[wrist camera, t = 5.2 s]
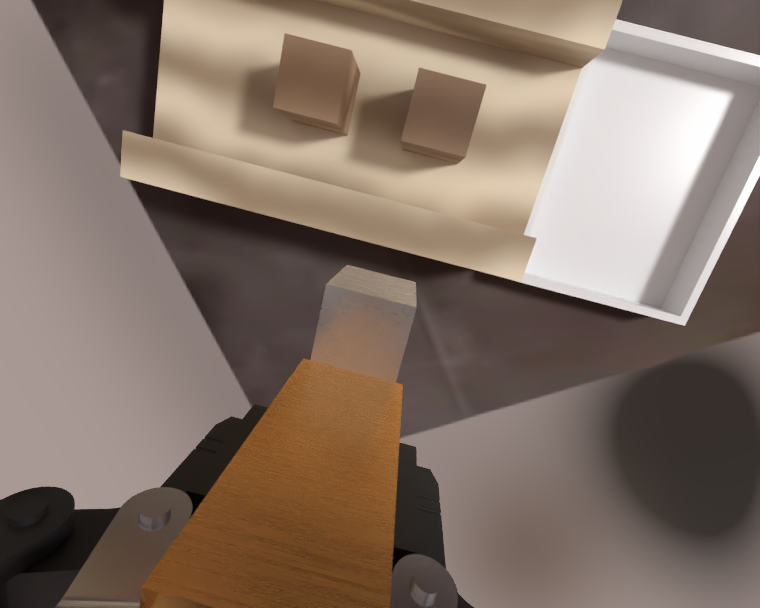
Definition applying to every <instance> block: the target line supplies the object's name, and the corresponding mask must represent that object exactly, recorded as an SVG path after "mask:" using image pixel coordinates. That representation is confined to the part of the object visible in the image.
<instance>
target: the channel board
mask: <svg viewBox="0 0 760 608" xmlns="http://www.w3.org/2000/svg"><path fill="white" fill-rule="evenodd" d="M622 1H623V0H164V8H163V20H162V32H161V45H160V57H159V69H158V82H157V94H156V106H155V119H154V131H153V138H151V137H147V136H143V135H139V134H135V133H132V132H128V131H124V130H123V136H122V152H121V169H120V177H122V178H126V179H130V180H134V181H138V182H141V183H145V184H149V185H153V186H157V187H160V188H164V189H168V190H172V191H176V192H179V193H183V194H187V195H191V196H195V197H198V198H202V199H206V200H210V201H214V202H217V203H221V204H225V205H229V206H233V207H236V208H240V209H244V210H248V211H252V212H256V213H259V214H263V215H267V216H271V217H275V218H278V219H282V220H286V221H290V222H294V223H297V224H301V225H305V226H309V227H313V228H316V229H320V230H324V231H328V232H332V233H335V234H339V235H343V236H347V237H351V238H354V239H358V240H362V241H366V242H370V243H373V244H377V245H381V246H385V247H389V248H392V249H396V250H400V251H404V252H408V253H411V254H415V255H419V256H423V257H427V258H430V259H434V260H438V261H442V262H446V263H449V264H453V265H457V266H461V267H465V268H469V269H472V270H476V271H480V272H484V273H488V274H491V275H495V276H499V277H503V278H507V279H510V280H514V281H518V282H521V281H522V278H523V275H524V272H525V270H526V267H527V264H528V261H529V258H530V256H531V253H532V250H533V247H534V245H535V242H536V239H537V238H534V237H530V236H526V235H524V232H525V229H526V226H527V223H528V221H529V218H530V215H531V212H532V209H533V206H534V203H535V201H536V198H537V195H538V192H539V189H540V186H541V184H542V181H543V178H544V175H545V172H546V169H547V166H548V164H549V161H550V158H551V155H552V152H553V149H554V146H555V144H556V141H557V138H558V135H559V132H560V129H561V126H562V124H563V121H564V118H565V115H566V112H567V109H568V106H569V104H570V101H571V98H572V95H573V92H574V89H575V86H576V84H577V81H578V78H579V75H580V72H581V69H582V68H583V67H584V66H585V65H586V64H588V63H589V62H590V61H591V60H593V59H594V58H595V57H596V56H598V55H599V54H600V53H601V52H603V51H604V50H605V48H606V45H607V42H608V39H609V37H610V34H611V31H612V28H613V26H614V23H615V20H616V17H617V15H618V12H619V9H620V6H621V3H622ZM285 33H286V34H290V35H294V36H298V37H302V38H306V39H310V40H314V41H318V42H321V43H325V44H329V45H333V46H337V47H341V48H345V49H349V50H352V52H353V55H354V58H355V60H356V63H357V65H358V68H359V71H360V73H361V74H360V79H359V84H358V88H357V93H356V98H355V103H354V108H353V112H352V117H351V122H350V127H349V131H348V136H347V135H343V134H339V133H335V132H331V131H328V130H324V129H320V128H316V127H312V126H308V125H304V124H301V123H297V122H293V121H291V120H290V119H289V118H287V117H286V116H284V115H283V114H282V113H280V112H279V111H277V110H276V109H274V108H273V103H274V97H275V91H276V84H277V78H278V72H279V65H280V59H281V53H282V46H283V40H284V34H285ZM419 68H423V69H427V70H431V71H435V72H439V73H443V74H446V75H450V76H454V77H458V78H462V79H466V80H470V81H474V82H478V83H482V84H485V85H486V89H485V92H484V96H483V99H482V102H481V106H480V109H479V113H478V116H477V120H476V123H475V126H474V130H473V133H472V137H471V140H470V143H469V147H468V150H467V154H466V157H465V158H464V159H463V160H462V161H461V162H460V163H458V164H455V163H451V162H447V161H443V160H439V159H436V158H432V157H428V156H424V155H420V154H416V153H412V152H409V151H405V150H402V144H401V138H402V134H403V130H404V126H405V122H406V118H407V114H408V110H409V106H410V102H411V98H412V94H413V90H414V86H415V82H416V78H417V74H418V69H419Z"/></svg>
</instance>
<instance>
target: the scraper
mask: <svg viewBox="0 0 760 608" xmlns="http://www.w3.org/2000/svg"><path fill="white" fill-rule="evenodd" d="M416 308H417V304H416V282H413V281H409V280H405V279H401V278H397V277H393V276H389V275H385V274H381V273H377V272H373V271H370V270H366V269H362V268H358V267H354V266H350V265H346V266H345V267H344V268H343V269H342V270H341V271H340V272H339V273H338V274H337V275H335V276H334V277H333V278H332V279H331V280H330V281H329V282H328V283H327V284H326V288H325V292H324V297H323V302H322V307H321V312H320V316H319V321H318V326H317V331H316V336H315V341H314V345H313V350H312V355H311V360H307V359H303V360H302V361H301V363H300V364H299V365H298V367H297V368H296V370H295V371H294V372H293V374H292V375H291V377H290V378H289V380H288V381H287V382H286V384H285V385H284V387H283V388H282V389H281V391H280V392H279V394H278V395H277V396H276V398H275V399H274V401H273V402H272V404H271V405H270V406H269V408H268V409H267V411H266V412H265V413H264V415H263V416H262V418H261V419H260V420H259V422H258V423H257V425H256V426H255V428H254V429H253V430H252V432H251V433H250V435H249V436H248V437H247V439H246V440H245V442H244V443H243V444H242V446H241V447H240V449H239V450H238V452H237V453H236V454H235V456H234V457H233V459H232V460H231V461H230V463H229V464H228V466H227V467H226V468H225V470H224V471H223V473H222V474H221V475H220V477H219V478H218V480H217V481H216V483H215V484H214V485H213V487H212V488H211V490H210V491H209V492H208V494H207V495H206V497H205V498H204V499H203V501H202V502H201V504H200V505H199V507H198V508H197V509H196V511H195V512H194V514H193V515H192V516H191V518H190V519H189V521H188V522H187V523H186V525H185V526H184V528H183V529H182V531H181V532H180V533H179V535H178V536H177V538H176V539H175V540H174V542H173V543H172V545H171V546H170V547H169V549H168V550H167V552H166V553H165V555H164V556H163V557H162V559H161V560H160V562H159V563H158V564H157V566H156V567H155V569H154V570H153V571H152V573H151V574H150V576H149V577H148V578H147V580H146V581H145V583H144V584H143V586H142V587H141V595H140V606H139V608H390V598H391V580H392V563H393V545H394V528H395V510H396V493H397V475H398V458H399V440H400V423H401V405H402V388H403V384H399V383H396V379H397V376H398V372H399V368H400V365H401V361H402V358H403V354H404V351H405V347H406V343H407V340H408V336H409V333H410V329H411V326H412V322H413V318H414V315H415V311H416Z"/></svg>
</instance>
